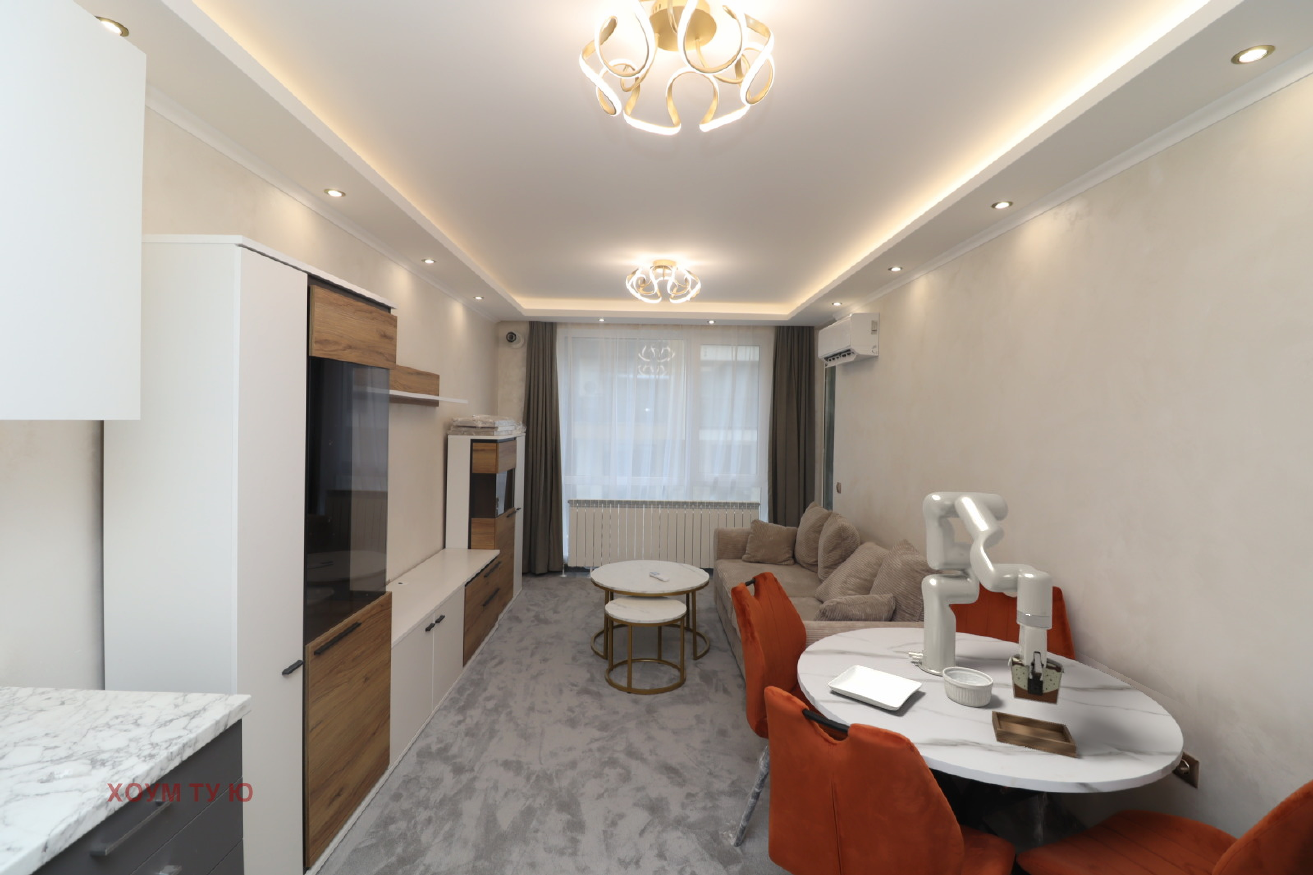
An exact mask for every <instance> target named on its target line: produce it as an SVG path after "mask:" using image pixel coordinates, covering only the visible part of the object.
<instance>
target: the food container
mask: <svg viewBox="0 0 1313 875" xmlns="http://www.w3.org/2000/svg"><path fill="white" fill-rule="evenodd" d="M1007 666H1008V667H1010V671H1011V682H1012V692H1013V698H1014V699H1016V700H1017V699H1018V700H1023V701H1027V702H1029V701H1031V702H1036V703H1042V704H1043V703H1044V704H1049V705H1056V706H1057V705H1058V702H1059V696H1060V689H1061V681H1062V677H1063V675H1066V671H1065V668H1064V666H1063V664H1062V663H1060V662H1058V661H1056V660H1055V659H1054V660H1053V659H1051V658H1048V657H1047V662H1046V668H1044V669H1043V668H1042V675H1043V695H1042V696H1039V695H1033V694H1029V693H1028V692H1027V683H1028V677H1029V666H1028V665H1027V666H1024V665H1023V664H1022V662H1021V659H1020V657H1019V654H1018V653H1015V654H1012V655H1011V656H1010V657H1009V659H1008V663H1007ZM1031 666H1035V665H1034V664H1033V663H1031ZM1033 670H1034V668H1032V671H1033Z"/></svg>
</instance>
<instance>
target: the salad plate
mask: <svg viewBox="0 0 1313 875" xmlns="http://www.w3.org/2000/svg"><path fill="white" fill-rule="evenodd" d="M827 685H828V687H829V688H830V689H831V690H832V691H834V692H836V693H838V694H840V695H842V696H846V697H848V698H851V699H854V700H858V701H860V702H862V703H863V702H864V703H866V704H870V705H872V706H876V707H877V708H881V709H884V710H888V711H898V710H899V709H900V708H901V707H902V705H903V704H904V703H905V702H906V701H907V700H908V699H909V698H910V697H911V696H913V695H914V693H916V692H917V691H918V690H920V689H921V688H922V686H923V682H919V681H916V680H912V679H909V678H905V677H902V676H899V675H895V674H892V673H889V672H885V671H882V670H876V669H875V668H870V667H866V666H864V665H863V666H862V665H859V664H854V665H852V666H851V667H849V668H848V669H847V670H845V671H844V672H842V673H840V674H839V675H838V676H836V677H835V678H833V679H832V680H830V681H829V682H828V683H827Z"/></svg>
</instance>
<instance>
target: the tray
mask: <svg viewBox="0 0 1313 875" xmlns="http://www.w3.org/2000/svg"><path fill="white" fill-rule="evenodd" d="M991 724H992V727H993V731H994V736H995V739H996V742H998V743H1004V744H1007V743H1009V744H1008V745H1012V744H1013V745H1014V746H1017V747H1021V746H1025V747H1024V748H1026V747H1028V748H1027V749H1031V748H1032V750H1035V749H1036V751H1041V752H1045V753H1050V754H1054V755H1060V756H1063V757H1069V758H1073V759H1077V744H1076V742H1075V740H1074V738H1073V735H1072V734H1071V732H1070V731H1069V728H1068V726H1067V724H1064V723H1058V722H1054V721H1047V720H1042V719H1037V718H1032V717H1028V716H1022V715H1017V714H1012V713H1008V712H1007V713H1006V712H1000V711H997V710H996V711H995V710H991Z"/></svg>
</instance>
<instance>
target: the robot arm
mask: <svg viewBox="0 0 1313 875" xmlns="http://www.w3.org/2000/svg"><path fill="white" fill-rule="evenodd" d="M1008 515H1009V506H1008V503H1007V501H1006V500H1005V499H1004V498H1003V497H1002V496H1001V495H999V494H997V493H985V492H974V491H969V492H968V491H935V492H932V493H929V494H927V495H926V496H925V498H924V499H923V502H922V516H923V518H924V522H925V528H926V540H925V541H926V562H927V565H928V567H929V568H931V569H932V570H936V571H948V572H949V571H951V572H952V571H954V572H955V571H956V572H957V574H955V573H954V574H952V573H951V574H950V573H935V574H928V575H926V576H925V577H923V579H922V581H921V593H922V594H921V595H922V599H923V649H922V652H921V651H919V652H915V651H908V658H912V660H913V661H914V660H915V661H917V664H918V665H917V666H918V667H919V668H920V669H921V670H922V671H924V672H926V673H929V674H932V675H936V676H940V677H943V670H944V669H946V668H949V667H959V666H958V665H957V664H956V641H957V640H956V638H957V637H956V636H957V635H956V634H957V633H956V632H957V625H956V624H957V619H956V618H957V617H956V615H955V613H954V611H953V610H952V609H951V607H950V605H954V604H957V605H959V604H960V605H961V604H963V605H965V604H974V603H975V602H976V601H977V600H978V599H979V595H980V584H981V585H982V586H983V587H984V588H985V589H986V590H988V591H990V592H994V593H1017V594H1016V595H1017V597H1016V623H1017V624H1018V625H1019V636H1018V653H1017V654H1019V657H1020V659H1021V662H1022V664H1023V665H1024V666H1027V665H1028V666H1029V677H1028V683H1027V692H1028V693H1029V694H1033V695H1039V696H1042V695H1043V675H1042V668H1043V669H1044V668H1046V662H1047V658H1048V655H1047V654H1048V640H1047V639H1048V636H1047V634H1048V630H1051V629H1052V628H1053V627H1052V626H1053V576H1052V575H1051V574H1050V573H1047V572H1045V571H1042V570H1037V569H1036V568H1035V567H1033V566H1032V565H1029V564H1025V563H999V562H997V563H995V562H994V563H993V562H992V560H991V559H990V558H989V556H988V553H987V552H986V550H989V549H990V548H993V547H994V546H997V545H998V544H999V543H1000V542H1002V541H1003V539H1004V538H1005V530H1004V527H1003V526H1001V524H1000V522H1001V521H1004V520H1005V519H1006V518H1007V517H1008ZM950 518H951V519H953V518H954V519H955V518H956V519H960V520H961V522H962V524H963V526H964V528H965V530H966V531H967V532H968V534H969V536H970V538H971V539H972V541H973V542H972V544H971V543H970V542H967V541H956V534H955V533H956V530H955V527H954V525H953V523H952V522H951V521H950ZM1031 663H1033V664H1034V665H1035V666H1031ZM1032 668H1034V670H1033V671H1032Z"/></svg>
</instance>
